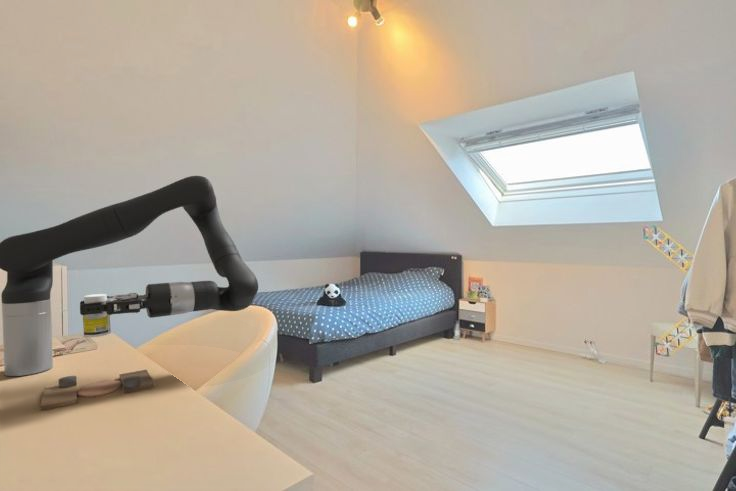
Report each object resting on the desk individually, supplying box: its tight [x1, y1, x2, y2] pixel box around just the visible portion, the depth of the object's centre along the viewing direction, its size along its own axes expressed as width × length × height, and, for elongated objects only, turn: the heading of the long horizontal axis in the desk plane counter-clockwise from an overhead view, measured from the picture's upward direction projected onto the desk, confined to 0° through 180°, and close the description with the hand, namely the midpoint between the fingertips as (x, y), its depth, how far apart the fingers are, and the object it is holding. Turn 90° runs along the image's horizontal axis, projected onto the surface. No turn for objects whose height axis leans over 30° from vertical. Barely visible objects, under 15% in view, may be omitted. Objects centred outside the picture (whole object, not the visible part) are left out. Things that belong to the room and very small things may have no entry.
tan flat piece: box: [39, 369, 155, 411], centre depth 87 cm, size 12×19×2 cm, turn 125°
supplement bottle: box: [82, 293, 111, 338], centre depth 86 cm, size 5×5×8 cm
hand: (80, 308), depth 85 cm, fingers closed on supplement bottle, 4 cm apart
